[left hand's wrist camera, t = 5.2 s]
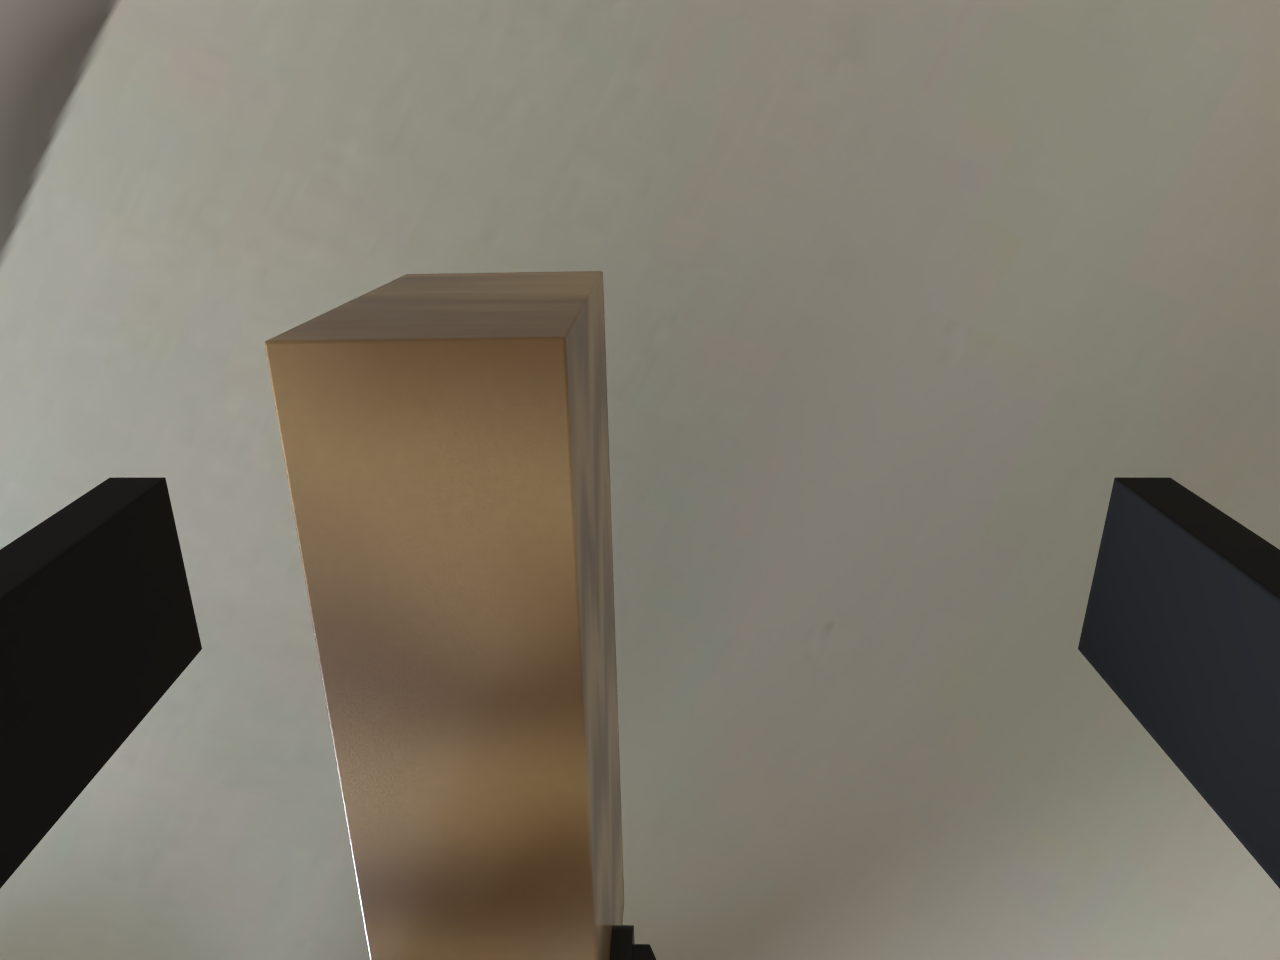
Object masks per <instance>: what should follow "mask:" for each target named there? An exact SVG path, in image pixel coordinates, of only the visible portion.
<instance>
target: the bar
mask: <svg viewBox="0 0 1280 960" xmlns="http://www.w3.org/2000/svg"><path fill="white" fill-rule="evenodd" d="M265 347H266V353H267V359H268V365H269V371H270V376H271V382H272V388H273V394H274V400H275V406H276V412H277V417H278V423H279V429H280V435H281V441H282V447H283V452H284V458H285V464H286V470H287V476H288V482H289V488H290V493H291V499H292V505H293V511H294V517H295V523H296V528H297V534H298V540H299V546H300V552H301V558H302V564H303V569H304V575H305V581H306V587H307V593H308V599H309V604H310V610H311V616H312V622H313V628H314V634H315V639H316V645H317V651H318V657H319V663H320V669H321V675H322V680H323V686H324V692H325V698H326V704H327V710H328V715H329V721H330V727H331V733H332V739H333V745H334V751H335V756H336V762H337V768H338V774H339V780H340V786H341V791H342V797H343V803H344V809H345V815H346V821H347V827H348V832H349V838H350V844H351V850H352V856H353V862H354V867H355V873H356V879H357V885H358V891H359V897H360V902H361V908H362V914H363V920H364V926H365V932H366V938H367V943H368V949H369V955H370V960H610V948H611V935H612V926H613V925H623V911H624V879H623V849H622V820H621V790H620V761H619V731H618V702H617V672H616V643H615V613H614V584H613V554H612V525H611V495H610V466H609V436H608V407H607V377H606V348H605V318H604V289H603V272H601V271H582V272H518V273H454V274H406V275H404V276H402V277H400V278H398V279H396V280H394V281H391V282H389V283H387V284H385V285H383V286H381V287H379V288H377V289H375V290H373V291H370V292H368V293H366V294H364V295H362V296H360V297H358V298H356V299H354V300H351V301H349V302H347V303H345V304H343V305H341V306H339V307H337V308H335V309H333V310H330V311H328V312H326V313H324V314H322V315H320V316H318V317H316V318H314V319H312V320H309V321H307V322H305V323H303V324H301V325H299V326H297V327H295V328H293V329H290V330H288V331H286V332H284V333H282V334H280V335H278V336H276V337H274V338H272V339H269V340H267V341H266V342H265Z"/></svg>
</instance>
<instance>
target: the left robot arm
mask: <svg viewBox="0 0 1280 960" xmlns="http://www.w3.org/2000/svg"><path fill="white" fill-rule="evenodd" d="M201 649H202V647H201V642H200V637H199V633H198V628H197V623H196V619H195V614H194V609H193V605H192V600H191V595H190V591H189V586H188V582H187V577H186V572H185V568H184V563H183V558H182V554H181V549H180V544H179V540H178V535H177V530H176V526H175V521H174V516H173V512H172V507H171V502H170V498H169V493H168V488H167V484H166V479H165V478H109V479H107V480H106V481H104V482H103V483H101V484H100V485H98V486H97V487H95V488H93V489H92V490H90V491H89V492H87V493H86V494H84V495H83V496H81V497H80V498H78V499H77V500H75V501H74V502H72V503H71V504H69V505H68V506H66V507H65V508H63V509H62V510H60V511H59V512H57V513H56V514H54V515H52V516H51V517H49V518H48V519H46V520H45V521H43V522H42V523H40V524H39V525H37V526H36V527H34V528H33V529H31V530H30V531H28V532H27V533H25V534H24V535H22V536H21V537H19V538H18V539H16V540H15V541H13V542H11V543H10V544H8V545H7V546H5V547H4V548H2V549H1V550H0V888H1V887H2V886H3V885H4V883H5V882H6V881H7V880H8V879H9V877H10V876H11V875H12V874H13V873H14V871H15V870H16V869H17V868H18V867H19V866H20V864H21V863H22V862H23V861H24V860H25V858H26V857H27V856H28V855H29V854H30V852H31V851H32V850H33V849H34V848H35V847H36V845H37V844H38V843H39V842H40V841H41V839H42V838H43V837H44V836H45V835H46V833H47V832H48V831H49V830H50V829H51V828H52V826H53V825H54V824H55V823H56V822H57V820H58V819H59V818H60V817H61V816H62V814H63V813H64V812H65V811H66V810H67V809H68V807H69V806H70V805H71V804H72V803H73V801H74V800H75V799H76V798H77V797H78V795H79V794H80V793H81V792H82V791H83V790H84V788H85V787H86V786H87V785H88V784H89V782H90V781H91V780H92V779H93V778H94V776H95V775H96V774H97V773H98V772H99V771H100V769H101V768H102V767H103V766H104V765H105V763H106V762H107V761H108V760H109V759H110V757H111V756H112V755H113V754H114V753H115V752H116V750H117V749H118V748H119V747H120V746H121V744H122V743H123V742H124V741H125V740H126V738H127V737H128V736H129V735H130V734H131V733H132V731H133V730H134V729H135V728H136V727H137V725H138V724H139V723H140V722H141V721H142V719H143V718H144V717H145V716H146V715H147V714H148V712H149V711H150V710H151V709H152V708H153V706H154V705H155V704H156V703H157V702H158V700H159V699H160V698H161V697H162V696H163V695H164V693H165V692H166V691H167V690H168V689H169V687H170V686H171V685H172V684H173V683H174V681H175V680H176V679H177V678H178V677H179V676H180V674H181V673H182V672H183V671H184V670H185V668H186V667H187V666H188V665H189V664H190V662H191V661H192V660H193V659H194V658H195V657H196V655H197V654H198V653H199V652H200V651H201ZM1078 649H1079V651H1080V652H1081V653H1082V654H1083V655H1084V657H1085V658H1086V659H1087V660H1088V661H1089V662H1090V664H1091V665H1092V666H1093V667H1094V668H1095V670H1096V671H1097V672H1098V673H1099V674H1100V676H1101V677H1102V678H1103V679H1104V680H1105V681H1106V683H1107V684H1108V685H1109V686H1110V687H1111V689H1112V690H1113V691H1114V692H1115V693H1116V695H1117V696H1118V697H1119V698H1120V699H1121V700H1122V702H1123V703H1124V704H1125V705H1126V706H1127V708H1128V709H1129V710H1130V711H1131V712H1132V714H1133V715H1134V716H1135V717H1136V718H1137V719H1138V721H1139V722H1140V723H1141V724H1142V725H1143V727H1144V728H1145V729H1146V730H1147V731H1148V733H1149V734H1150V735H1151V736H1152V737H1153V738H1154V740H1155V741H1156V742H1157V743H1158V744H1159V746H1160V747H1161V748H1162V749H1163V750H1164V752H1165V753H1166V754H1167V755H1168V756H1169V757H1170V759H1171V760H1172V761H1173V762H1174V763H1175V765H1176V766H1177V767H1178V768H1179V769H1180V771H1181V772H1182V773H1183V774H1184V775H1185V776H1186V778H1187V779H1188V780H1189V781H1190V782H1191V784H1192V785H1193V786H1194V787H1195V788H1196V790H1197V791H1198V792H1199V793H1200V794H1201V795H1202V797H1203V798H1204V799H1205V800H1206V801H1207V803H1208V804H1209V805H1210V806H1211V807H1212V809H1213V810H1214V811H1215V812H1216V813H1217V814H1218V816H1219V817H1220V818H1221V819H1222V820H1223V822H1224V823H1225V824H1226V825H1227V826H1228V828H1229V829H1230V830H1231V831H1232V832H1233V833H1234V835H1235V836H1236V837H1237V838H1238V839H1239V841H1240V842H1241V843H1242V844H1243V845H1244V847H1245V848H1246V849H1247V850H1248V851H1249V852H1250V854H1251V855H1252V856H1253V857H1254V858H1255V860H1256V861H1257V862H1258V863H1259V864H1260V866H1261V867H1262V868H1263V869H1264V870H1265V871H1266V873H1267V874H1268V875H1269V876H1270V877H1271V879H1272V880H1273V881H1274V882H1275V883H1276V885H1277V886H1278V887H1279V888H1280V550H1279V549H1278V548H1276V547H1275V546H1273V545H1272V544H1270V543H1269V542H1267V541H1265V540H1264V539H1262V538H1261V537H1259V536H1258V535H1256V534H1255V533H1253V532H1252V531H1250V530H1249V529H1247V528H1246V527H1244V526H1243V525H1241V524H1240V523H1238V522H1237V521H1235V520H1234V519H1232V518H1231V517H1229V516H1228V515H1226V514H1224V513H1223V512H1221V511H1220V510H1218V509H1217V508H1215V507H1214V506H1212V505H1211V504H1209V503H1208V502H1206V501H1205V500H1203V499H1202V498H1200V497H1199V496H1197V495H1196V494H1194V493H1193V492H1191V491H1190V490H1188V489H1187V488H1185V487H1183V486H1182V485H1180V484H1179V483H1177V482H1176V481H1174V480H1173V479H1171V478H1115V479H1114V484H1113V488H1112V493H1111V498H1110V502H1109V507H1108V512H1107V516H1106V521H1105V526H1104V530H1103V535H1102V540H1101V544H1100V549H1099V554H1098V558H1097V563H1096V567H1095V572H1094V577H1093V581H1092V586H1091V591H1090V595H1089V600H1088V605H1087V609H1086V614H1085V619H1084V623H1083V628H1082V633H1081V637H1080V642H1079V647H1078Z"/></svg>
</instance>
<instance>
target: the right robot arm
mask: <svg viewBox="0 0 1280 960" xmlns="http://www.w3.org/2000/svg"><path fill="white" fill-rule="evenodd" d="M610 960H656V958H655V956H654V953H653V951H652V949H651V947H650V945H644V944H634V926H627V925H613V926H612V935H611V948H610Z"/></svg>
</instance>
